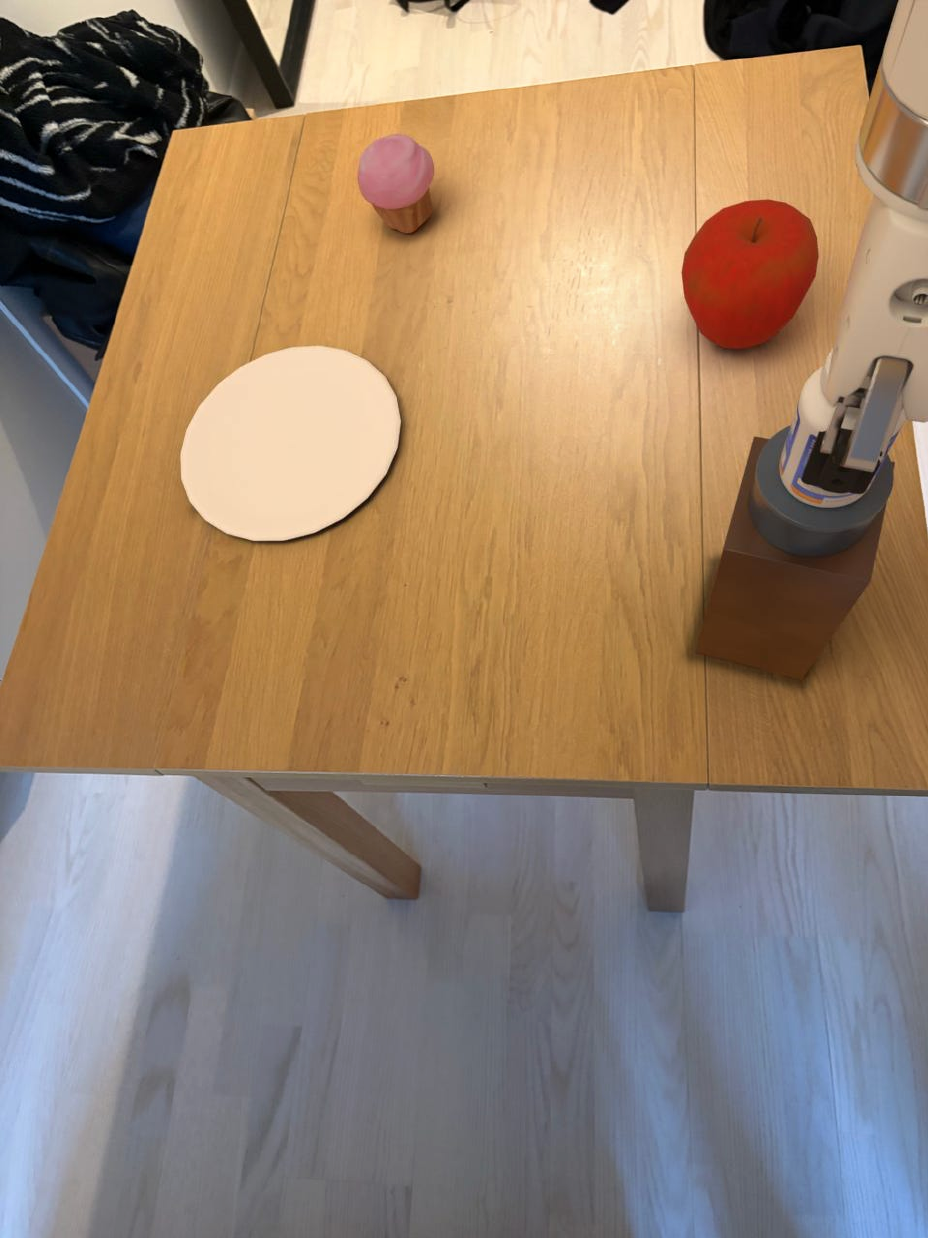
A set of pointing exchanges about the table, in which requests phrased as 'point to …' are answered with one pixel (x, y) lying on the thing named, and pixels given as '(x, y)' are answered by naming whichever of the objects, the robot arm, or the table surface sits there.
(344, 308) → the table surface
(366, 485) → the plate
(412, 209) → the cupcake
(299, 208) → the table surface
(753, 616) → the stand
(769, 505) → the tin
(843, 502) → the pill bottle
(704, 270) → the apple
